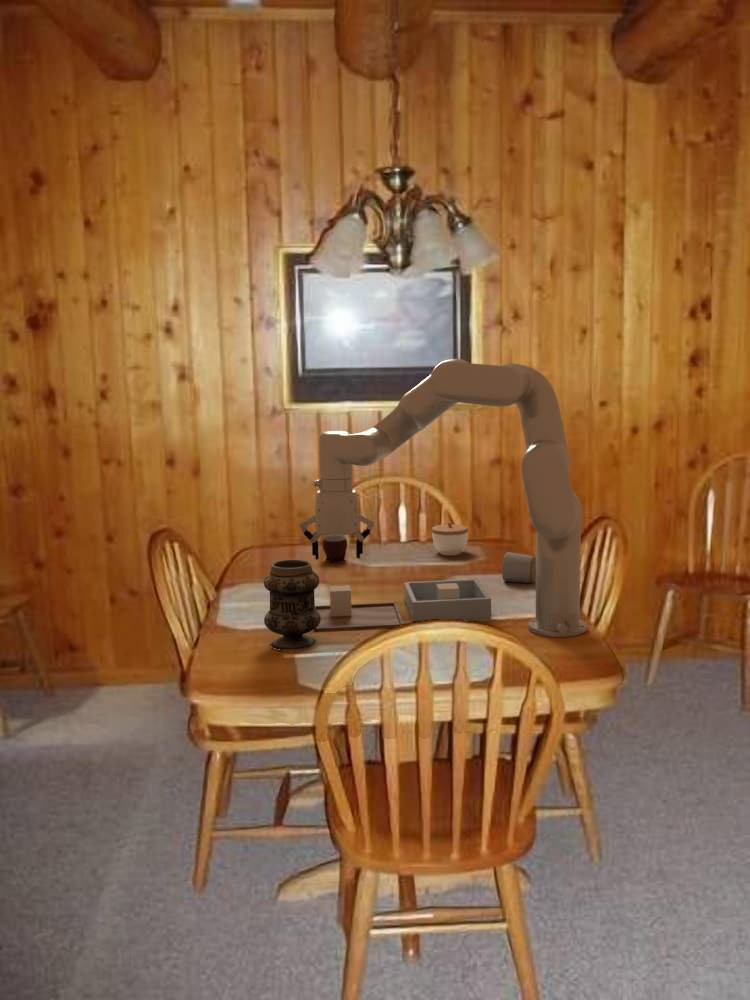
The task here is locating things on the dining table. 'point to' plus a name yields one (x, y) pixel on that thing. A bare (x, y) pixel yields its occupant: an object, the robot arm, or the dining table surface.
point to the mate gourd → (335, 547)
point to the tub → (447, 601)
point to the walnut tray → (361, 617)
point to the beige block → (447, 591)
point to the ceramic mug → (519, 568)
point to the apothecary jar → (292, 603)
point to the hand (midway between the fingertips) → (337, 557)
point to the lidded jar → (450, 538)
